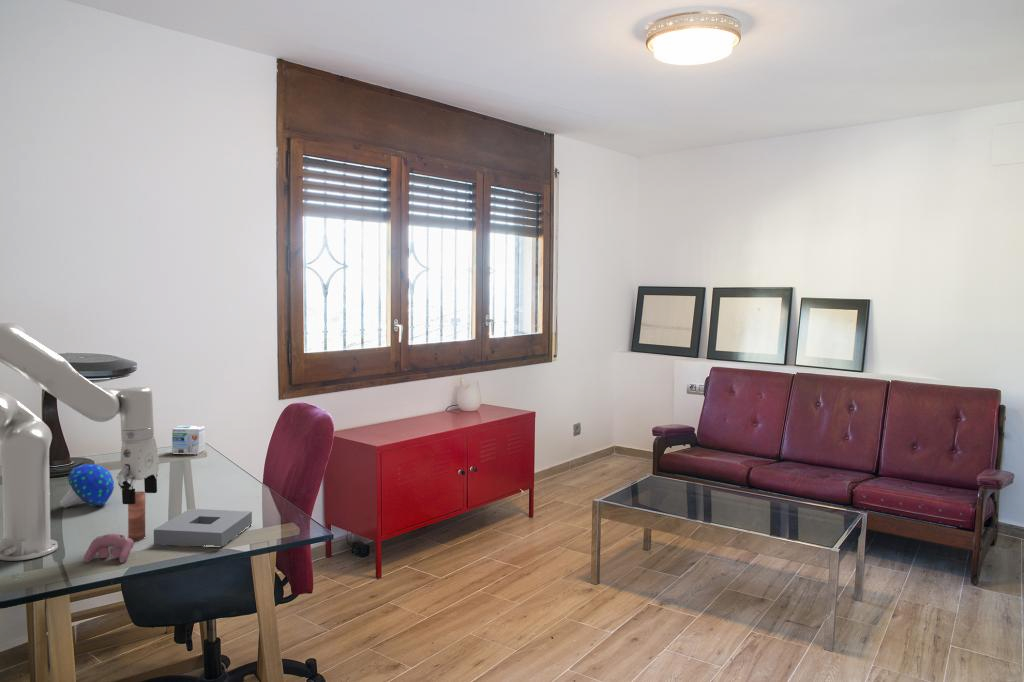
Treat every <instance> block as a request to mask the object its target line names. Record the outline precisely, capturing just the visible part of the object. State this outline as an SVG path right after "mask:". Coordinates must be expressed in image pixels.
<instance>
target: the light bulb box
mask: <svg viewBox="0 0 1024 682" xmlns="http://www.w3.org/2000/svg"><path fill="white" fill-rule="evenodd" d="M205 429H206V426H204V425H177V426H176V427H173V428H172V436H171V437H172V439H171V440H172V441H171V443H172V444H171V450H172V451H171V454H172V453H199V452H201V451H203V450H204V449H205V448H206V447H205V446H206V445H205V440H206V435H205V434H206V432H205V431H206V430H205Z"/></svg>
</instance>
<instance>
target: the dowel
mask: <svg viewBox="0 0 1024 682" xmlns="http://www.w3.org/2000/svg"><path fill="white" fill-rule="evenodd" d="M135 500H136V503H135V504H127V508H128V509H127V518H128V519H127V523H128V524H127V525H128V526H127V531H128V532H127V535H128V536H127V537H128V538H130V539H132V540H137V541H140V540H139V539H142V538H144V537H145V538H146V493H145V491H135ZM145 538H144V539H145ZM142 540H143V539H142Z"/></svg>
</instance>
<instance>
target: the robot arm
mask: <svg viewBox="0 0 1024 682" xmlns="http://www.w3.org/2000/svg"><path fill="white" fill-rule="evenodd" d="M0 363H2V364H3V365H4V366H6V367H8V368H9V369H11V370H13V371H14V372H16V373H18V374H19V375H21V376H23V377H24V378H26V379H28V380H29V381H30V382H32V383H34V384H35V385H37V386H38V387H40V388H41V389H42V390H44V391H45V392H47V393H48V394H50V395H51V396H53V397H54V398H56V399H57V400H59V401H60V402H61V403H63V404H64V405H66V406H67V407H68V408H71V409H72V410H74V411H76V412H77V413H78V414H81V415H82V416H83V417H85V418H87V419H89V420H90V421H93V422H96V423H105V422H108V421H110V420H113V419H114V418H115V417H116V416H117V415H120V434H121V435H120V436H121V442H122V443H121V448H120V471H119V472H118V473H117V474H116V480H117V482H118V483H117V484H118V486H119V489H120V490H121V497H122V498H121V499H122V501H121V502H122V505H128V504H135V503H136V500H135V492H136V489H135V488H134V487H135V484H136V482H137V481H142V480H143V482H144V483H143V484H144V492H145V494H157V493H158V482H157V478H158V476H159V475H158V471H159V469H160V468H159V466H160V462H161V460H160V459H159V455H158V446H157V442H156V438H155V433H154V431H155V428H154V406H153V391H152V390H151V389H150V388H149V387H147V386H146V387H143V386H137V387H136V386H134V387H133V386H132V387H127V388H112V387H110V388H109V387H100V386H97V385H96V384H94V383H93V382H91V381H90V380H89V379H87V378H86V377H84V376H83V375H81V374H80V373H79V372H78V371H77V370H76V369H75V368H74V367H73V366H72V365H71V363H70V362H69V361H68V360H67V359H65V358H64V357H63V356H62V355H60V354H58V353H57V352H55V351H53V350H52V349H50V348H48V347H47V346H46V345H45V344H43V343H41V342H39V341H38V340H36V339H35V338H33V337H32V336H31V335H28V333H27V331H26V330H25V329H24V328H23V327H22V326H20V325H18V324H16V323H11V322H2V323H1V322H0ZM52 440H53V434H52V431H51V429H50V427H49V426H48V425H47V424H46V423H45V421H43V420H42V419H41V418H40V417H38V416H37V415H36V414H35V413H33V412H32V411H31V410H30V409H29V408H27V406H25V405H24V404H23V403H21V402H20V401H18V399H17V398H15V397H14V396H12V395H10V394H9V393H7V392H5V391H1V390H0V441H1V444H0V445H1V446H0V464H1V478H2V524H3V525H2V526H3V529H2V533H3V539H1V540H0V561H1V560H2V561H9V562H10V561H11V562H12V561H14V562H15V561H17V562H18V561H25V560H31V559H36V558H40V557H43V556H47V555H49V554H51V553H53V552H56V550H57V549H58V547H59V545H58V544H59V542H58V541H57V540H55V539H51V486H50V485H51V484H50V483H51V482H50V481H51V479H50V478H51V477H50V476H51V474H50V448H51V443H52Z"/></svg>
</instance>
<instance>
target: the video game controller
mask: <svg viewBox="0 0 1024 682" xmlns="http://www.w3.org/2000/svg"><path fill="white" fill-rule="evenodd" d="M134 544H135V543H134V541H133V540H132V539H130V538H128V536H126V535H124V534H119V533H109V534H108V533H107V534H104V535H98V536H96V537H95V538H94V539H93V540H92V541H91V543H90V545H89V546H88V549H87V550H86V552H85V554H84V556H83V557H84V558H83V561H84V563H86V562H87V563H90V562H91V561H92V559H94V557H95V556H96V555H97V554H98V557H99V558H100V559H107V558H109V557H110V556H111V557H113V558H114V559H116V558H119V559H118V560H119V563H121V564H123V563H125V562H126V561H127V560H128V558H129V556H130V554H131V552H132V549H133V547H134ZM111 547H112V548H113V547H114V549H113V550H112V552H111V550H110V549H109V548H111ZM90 560H91V561H90Z"/></svg>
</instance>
